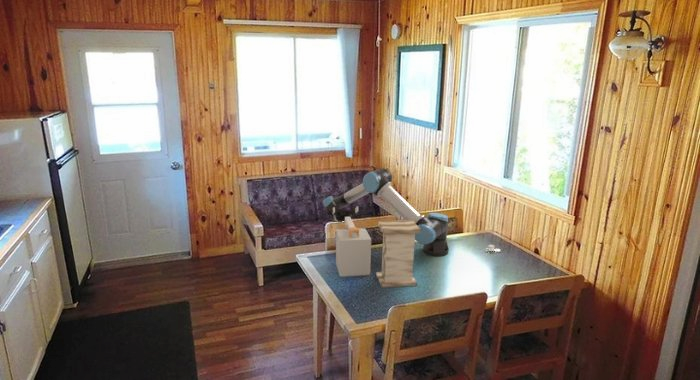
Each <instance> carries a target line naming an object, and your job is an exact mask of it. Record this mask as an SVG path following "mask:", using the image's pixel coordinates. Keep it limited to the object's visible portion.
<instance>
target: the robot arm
mask: <svg viewBox="0 0 700 380" xmlns="http://www.w3.org/2000/svg"><path fill="white" fill-rule="evenodd" d="M392 182H393V174H392V171H390V170H388V169H387V168H383V167H381V168H379V169H375V170H371V171H369V172H368V173H365V175H364V176H363V179H362V183H360V184H358V185H356V186H355V187H353V188H352V189H350V190H348V191H346V192H345V193H343V194H341V195H339V196H337V197H333V195H329V196H327V197H326V198H324V199H323V200H322V204H323V206H324V208H325V209H326V214H327V216H330V218H331V221H332V223H333V222H342V221H344V222H345V217H354V216H356V215H360V214H361V213H362V210H361V209H362V208H359V206H358V205H357V206H356V207H355V209H354V208H353V209H351V210H347V209H346V210H345V209H343V208H344V207H347V206H349V205H350V204H352V203H353V202H356V201H358V199H359V200H360V198H363V197H364V196H366V195H368V194H374V195H375V196H376V197H377V198H382V200H384V202H386V204H388V206H390V208H391V209H393V210H394V211H395V212H396V214H398V215H399V216H400V217H401V218H402V220H413V221H414V222H415V223H416V225H417V226H418V227H419V228H420V229H421V232H420V233H415V242H417V243H419V244H420V245H422V252H423V253H424V254H425V255H428V256H433V257H443V256H447V255H448V254H449V250H450V248H449V245H448V240H447V238H448V237H447V236H448V235H447V234H448V226H449V217H448V215H447V214H445V213H444V214H443V213H440V212H439V213H438V212H429V213H428V214H427V216H426V215H425V214H421V213H420V212H419V211H417V210H416V208H414V207H413V206H412V205H411V203H409V202H408V201H407V200H406V198H404V197H403V196H402V195H401V194H400V193H399V192H398V191H397V190H396V189H394V187H393V186H392Z"/></svg>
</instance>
